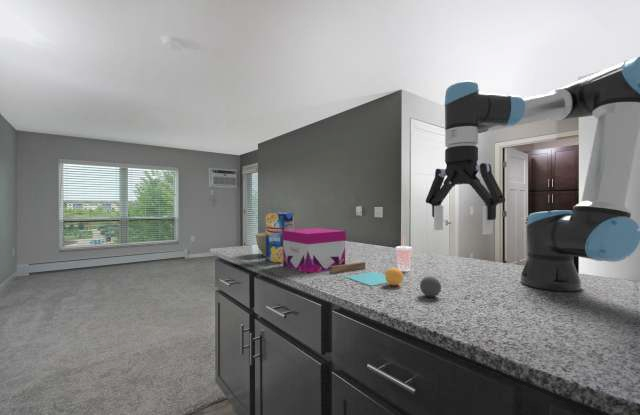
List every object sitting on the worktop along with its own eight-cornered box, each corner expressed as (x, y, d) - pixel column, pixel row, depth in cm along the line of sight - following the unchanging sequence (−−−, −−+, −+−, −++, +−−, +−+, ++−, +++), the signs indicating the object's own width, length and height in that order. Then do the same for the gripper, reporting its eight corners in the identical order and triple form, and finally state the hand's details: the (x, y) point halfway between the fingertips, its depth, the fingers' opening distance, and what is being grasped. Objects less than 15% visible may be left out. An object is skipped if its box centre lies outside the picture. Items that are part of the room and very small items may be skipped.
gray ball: (445, 297, 84) (445, 277, 84) (432, 300, 81) (432, 280, 81) (429, 292, 89) (428, 273, 89) (415, 295, 86) (415, 276, 86)
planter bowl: (250, 257, 149) (250, 235, 149) (262, 252, 165) (262, 232, 165) (282, 258, 146) (282, 235, 146) (291, 253, 162) (291, 232, 162)
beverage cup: (405, 272, 115) (405, 235, 114) (392, 269, 119) (392, 234, 119) (415, 270, 118) (415, 234, 118) (402, 267, 123) (401, 233, 123)
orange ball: (406, 285, 96) (406, 268, 96) (394, 288, 93) (394, 270, 93) (394, 282, 101) (394, 265, 101) (381, 284, 98) (381, 267, 98)
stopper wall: (365, 268, 122) (365, 262, 122) (331, 273, 114) (331, 267, 114) (363, 268, 123) (363, 262, 123) (330, 273, 115) (329, 266, 115)
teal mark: (402, 280, 103) (402, 279, 103) (370, 286, 96) (370, 285, 96) (375, 272, 115) (375, 271, 115) (344, 277, 108) (344, 276, 108)
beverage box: (284, 263, 134) (284, 213, 133) (265, 261, 140) (265, 213, 139) (294, 261, 139) (293, 212, 139) (275, 258, 145) (275, 212, 145)
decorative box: (282, 266, 129) (282, 230, 129) (318, 260, 140) (318, 228, 140) (307, 274, 114) (307, 233, 114) (346, 267, 125) (345, 230, 125)
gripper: (412, 153, 85) (412, 229, 86) (503, 135, 64) (503, 237, 64) (430, 155, 89) (430, 227, 89) (522, 139, 68) (522, 235, 68)
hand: (461, 231), depth 77 cm, fingers open, 13 cm apart
